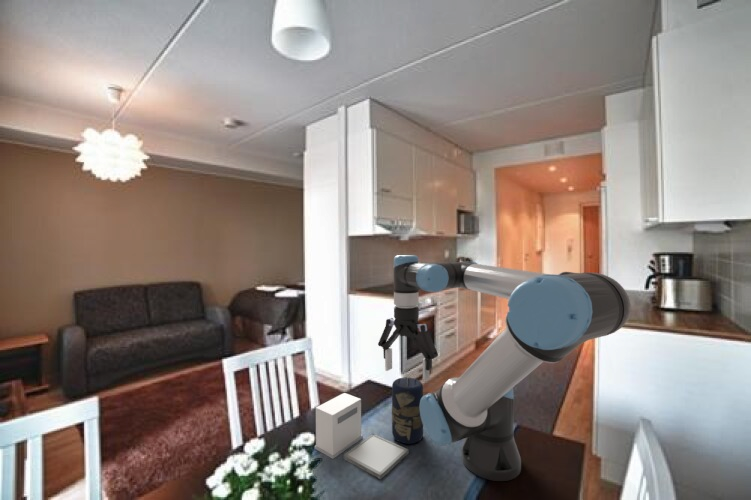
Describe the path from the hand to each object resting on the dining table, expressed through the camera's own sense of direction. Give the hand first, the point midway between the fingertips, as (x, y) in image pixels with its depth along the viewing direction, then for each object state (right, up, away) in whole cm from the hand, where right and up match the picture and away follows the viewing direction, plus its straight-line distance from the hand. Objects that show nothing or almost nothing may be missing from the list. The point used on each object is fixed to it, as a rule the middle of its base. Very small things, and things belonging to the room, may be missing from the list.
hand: (406, 374), depth 100 cm
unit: (-20, -19, -3) cm, 28 cm away
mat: (-9, -19, -9) cm, 23 cm away
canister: (0, -19, 0) cm, 19 cm away
